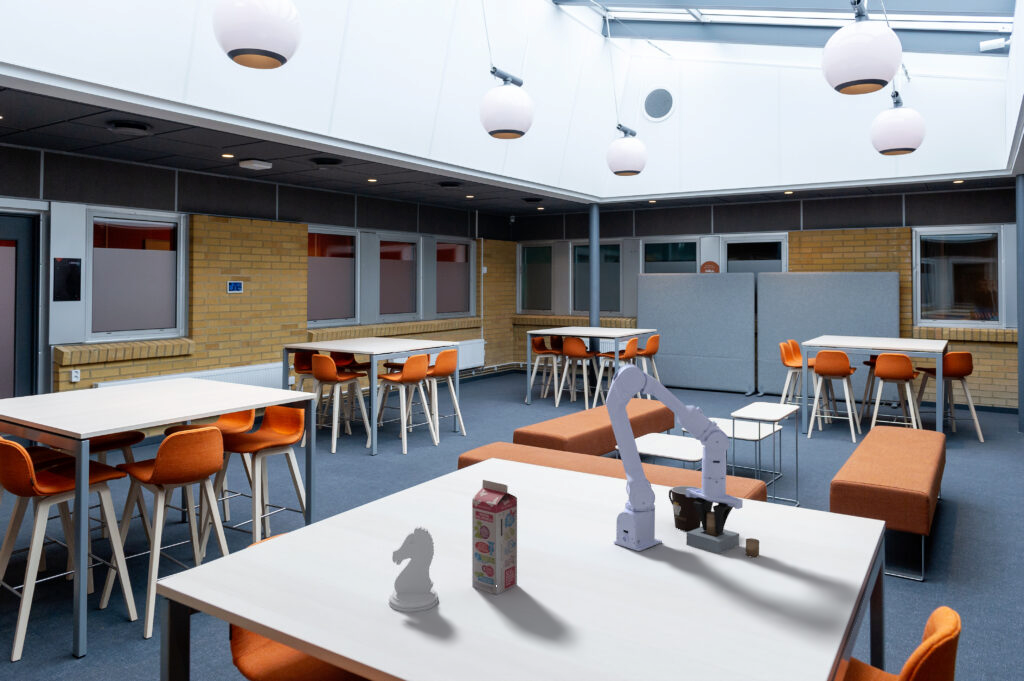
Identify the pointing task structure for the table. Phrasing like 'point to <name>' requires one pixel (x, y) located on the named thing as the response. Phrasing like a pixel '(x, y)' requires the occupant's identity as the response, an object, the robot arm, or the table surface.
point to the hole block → (712, 540)
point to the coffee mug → (684, 509)
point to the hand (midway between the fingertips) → (712, 531)
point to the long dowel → (711, 524)
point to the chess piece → (414, 574)
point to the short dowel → (752, 547)
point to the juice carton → (494, 538)
